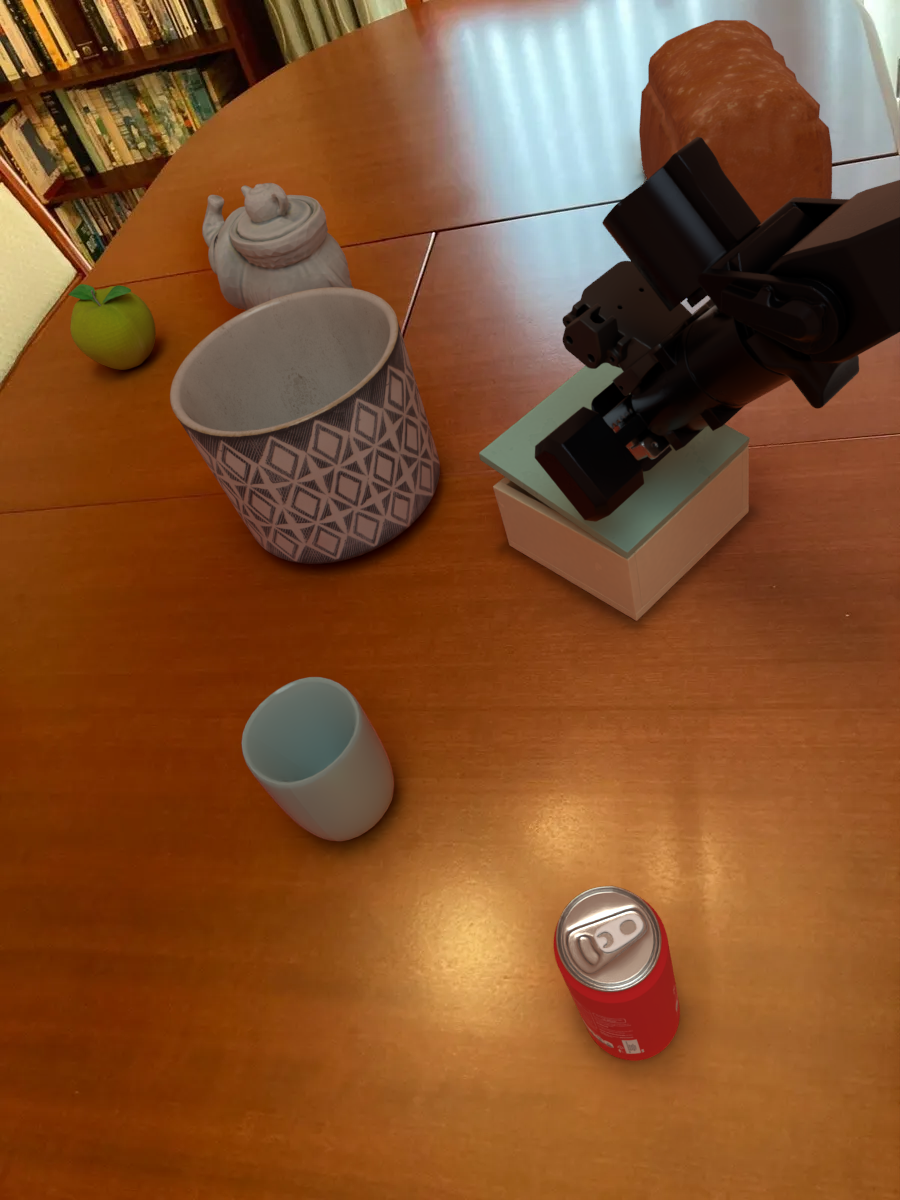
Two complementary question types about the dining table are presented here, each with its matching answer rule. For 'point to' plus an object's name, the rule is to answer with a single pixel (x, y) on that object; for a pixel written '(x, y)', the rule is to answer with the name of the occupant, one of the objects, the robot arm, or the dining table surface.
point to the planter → (312, 423)
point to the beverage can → (619, 971)
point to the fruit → (112, 326)
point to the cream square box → (651, 564)
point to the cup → (320, 758)
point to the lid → (662, 483)
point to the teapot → (272, 247)
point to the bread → (736, 114)
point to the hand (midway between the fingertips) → (604, 439)
